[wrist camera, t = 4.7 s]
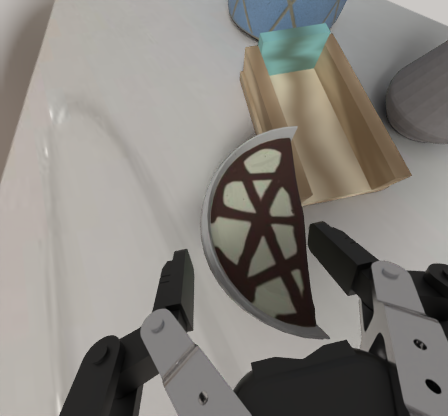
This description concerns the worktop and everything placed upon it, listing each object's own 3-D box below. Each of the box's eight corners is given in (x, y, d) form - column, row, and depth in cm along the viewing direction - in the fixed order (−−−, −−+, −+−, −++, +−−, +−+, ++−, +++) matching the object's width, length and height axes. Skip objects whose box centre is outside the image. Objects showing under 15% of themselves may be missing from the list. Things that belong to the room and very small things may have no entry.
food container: (211, 185, 21) (198, 120, 11) (263, 184, 20) (296, 118, 11) (210, 300, 17) (188, 354, 7) (272, 300, 17) (332, 353, 7)
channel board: (319, 67, 26) (341, 20, 21) (379, 190, 20) (430, 168, 15) (239, 80, 25) (243, 35, 20) (278, 210, 20) (296, 194, 15)
